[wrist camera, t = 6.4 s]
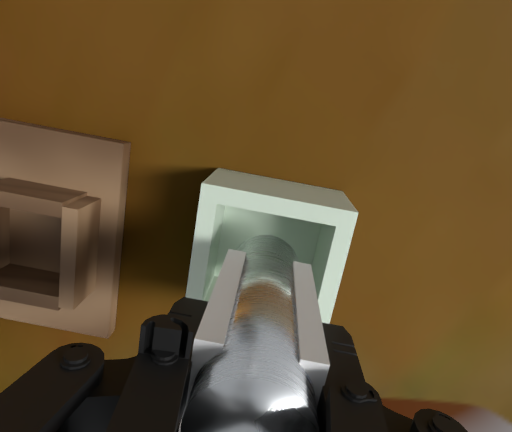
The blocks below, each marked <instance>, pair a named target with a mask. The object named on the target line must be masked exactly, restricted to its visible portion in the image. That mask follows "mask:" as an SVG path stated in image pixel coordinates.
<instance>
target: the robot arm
mask: <svg viewBox="0 0 512 432" xmlns="http://www.w3.org/2000/svg"><path fill="white" fill-rule="evenodd" d="M245 257H246V252H243V251H238V250H233V249H228V252H227V255H226V257H225V260H224V262H223V265H222V268H221V270H220V273H219V276H218V278H217V281H216V283H215V286H214V289H213V291H212V294H211V296H210V299H209V302H208V301H203V300H198V299H193V298H187V297H183V298H182V299H180V300H178V301H177V302H175V303H174V304H173V306H172V308H171V310H170V312H169V313H168V315H157V316H153V317H151V318H149V319H147V320H145V321H144V322H143V324H142V325H141V332H140V341H139V351H138V355H137V356H135V357H132V358H128V359H117V360H104V353H103V352H102V350H101V349H100V348H99V347H97V346H94V345H92V344H87V343H72V344H68V345H65V346H61V347H59V348H57V349H56V350H54V351H52V352H51V353H50V354H48V355H47V356H46V357H45V358H43V359H42V360H41V361H40V362H38V363H37V364H36V365H35V366H34V367H32V368H31V369H30V370H29V371H27V372H26V373H25V374H24V375H22V376H21V377H20V378H19V379H18V380H16V381H15V382H14V383H13V384H11V385H10V386H9V387H8V388H6V389H5V390H4V391H3V392H2V393H0V432H178V431H179V425H180V422H181V419H183V416H184V412H185V409H186V406H187V403H188V400H189V396H190V393H191V390H192V387H193V384H194V381H195V378H196V375H197V373H198V372H199V370H200V368H201V367H202V366H203V365H204V363H205V362H206V361H207V360H209V359H210V358H211V357H212V356H214V355H215V354H217V353H219V352H221V351H222V350H223V347H224V343H225V338H226V334H227V330H228V326H229V322H230V318H231V314H232V310H233V306H234V302H235V298H236V294H237V290H238V286H239V281H240V277H241V273H242V269H243V265H244V261H245ZM292 267H293V281H294V295H295V309H296V323H297V337H298V352H299V364H300V365H301V366H302V367H303V368H304V370H305V371H306V373H307V374H308V375H309V378H310V380H311V382H312V384H313V387H314V392H315V400H316V408H317V416H318V424H319V432H467V430H466V429H465V428H464V427H463V426H462V425H461V424H460V423H459V422H457V421H456V420H454V419H453V418H452V417H450V416H448V415H446V414H444V413H442V412H440V411H436V410H432V409H421V410H419V411H418V412H416V413H415V416H414V418H413V420H412V419H410V418H408V417H405V416H403V415H401V414H398V413H396V412H394V411H392V410H390V409H388V408H386V407H385V406H383V405H382V401H381V398H380V396H379V394H378V392H377V391H376V390H375V389H374V388H373V387H372V386H371V385H369V384H368V383H366V382H365V379H364V376H363V373H362V369H361V366H360V363H359V360H358V356H357V353H356V350H355V348H354V343H353V340H352V337H351V335H350V334H349V333H348V332H347V331H346V330H345V328H344V327H343V326H338V325H333V324H328V323H323V322H322V320H321V315H320V309H319V304H318V299H317V294H316V288H315V283H314V278H313V272H312V267H311V264H306V263H301V262H295V261H293V264H292Z"/></svg>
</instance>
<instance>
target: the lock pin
mask: <svg viewBox="0 0 512 432" xmlns="http://www.w3.org/2000/svg"><path fill="white" fill-rule="evenodd" d="M237 250H238V251H243V252H246V257H245V261H244V265H243V269H242V273H241V277H240V281H239V286H238V290H237V294H236V298H235V302H234V306H233V310H232V314H231V318H230V322H229V326H228V330H227V334H226V338H225V343H224V347H223V350H222V351H221V352H219V353H217V354H215V355H214V356H212V357H211V358H210V359H209V360H207V361H206V362H205V363H204V365H203V366H202V367H201V368H200V370H199V372H198V373H197V375H196V378H195V381H194V384H193V387H192V390H191V393H190V396H189V400H188V403H187V406H186V409H185V412H184V416H183V419H182V423H181V432H319V424H318V416H317V408H316V400H315V392H314V387H313V384H312V382H311V380H310V378H309V375H308V374H307V373H306V371H305V370H304V368H303V367H302V366H301V365H300V364H299V352H298V337H297V323H296V309H295V295H294V281H293V267H292V264H293V261H295V262H298V258H297V255H296V253H295V251H294V250H293V248H292V247H291V246H290V245H289V244H288V243H287V242H286V241H284V240H283V239H281V238H278V237H276V236H272V235H258V236H254V237H251V238H249V239H247V240H246V241H244V242H243V243H242V244H241V245H240V246H239V247H238V249H237Z"/></svg>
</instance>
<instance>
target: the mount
mask: <svg viewBox="0 0 512 432" xmlns="http://www.w3.org/2000/svg"><path fill="white" fill-rule="evenodd" d="M130 147H131V142H127V141H121V140H116V139H111V138H105V137H100V136H95V135H89V134H84V133H79V132H73V131H68V130H63V129H57V128H52V127H47V126H41V125H36V124H31V123H25V122H20V121H15V120H9V119H4V118H0V318H5V319H10V320H15V321H20V322H25V323H30V324H36V325H41V326H46V327H51V328H56V329H61V330H66V331H71V332H77V333H82V334H87V335H92V336H97V337H102V338H107V339H108V338H109V337H110V335H111V334H112V333H113V331H114V330H115V322H116V311H117V299H118V287H119V276H120V264H121V252H122V241H123V229H124V217H125V206H126V194H127V182H128V171H129V159H130Z"/></svg>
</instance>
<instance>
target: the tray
mask: <svg viewBox="0 0 512 432" xmlns="http://www.w3.org/2000/svg"><path fill="white" fill-rule="evenodd" d="M357 216H358V211H357V210H356V209H355V207H354V206H353V205H352V203H351V202H350V201H349V199H348V198H347V197H346V195H345V194H344V193H343V191H339V190H334V189H328V188H323V187H318V186H312V185H307V184H302V183H296V182H291V181H286V180H280V179H275V178H270V177H264V176H259V175H254V174H248V173H243V172H238V171H232V170H227V169H222V168H217V169H216V170H215V171H214V172H213V173H212V174H211V175H210V176H209V177H208V178H206V179H205V180H204V181H203V182H202V183H201V190H200V197H199V205H198V212H197V219H196V226H195V233H194V240H193V247H192V254H191V261H190V269H189V276H188V283H187V290H186V297H187V298H193V299H198V300H203V301H208V302H209V299H210V296H211V294H212V291H213V289H214V286H215V283H216V281H217V278H218V276H219V273H220V270H221V268H222V265H223V262H224V260H225V257H226V255H227V252H228V249H233V250H237V249H238V247H239V246H240V245H241V244H242V243H243V242H244V241H246V240H247V239H249V238H251V237H254V236H258V235H272V236H276V237H278V238H281V239H283V240H284V241H286V242H287V243H288V244H289V245H290V246H291V247H292V248H293V250H294V251H295V253H296V255H297V258H298V262H301V263H306V264H311V267H312V272H313V278H314V283H315V288H316V294H317V299H318V304H319V309H320V315H321V320H322V322H323V323H328V324H329V323H330V319H331V316H332V312H333V308H334V304H335V300H336V297H337V293H338V289H339V285H340V281H341V277H342V274H343V270H344V266H345V262H346V258H347V255H348V251H349V247H350V243H351V239H352V236H353V232H354V228H355V224H356V220H357Z"/></svg>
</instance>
